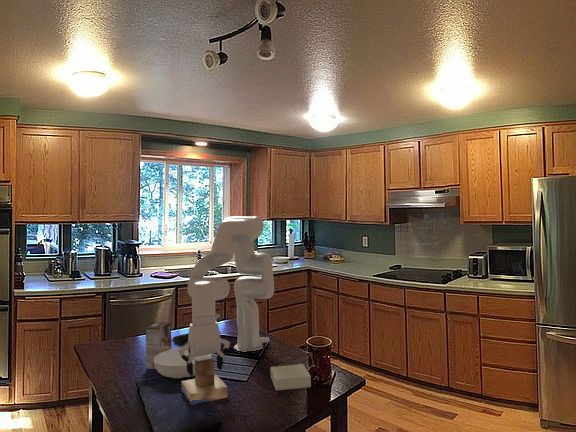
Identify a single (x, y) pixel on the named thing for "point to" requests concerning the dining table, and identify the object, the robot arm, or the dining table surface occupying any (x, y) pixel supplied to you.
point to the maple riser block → (205, 390)
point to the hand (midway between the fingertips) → (205, 371)
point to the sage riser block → (290, 377)
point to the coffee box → (157, 341)
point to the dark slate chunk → (181, 339)
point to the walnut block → (204, 371)
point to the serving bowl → (173, 363)
